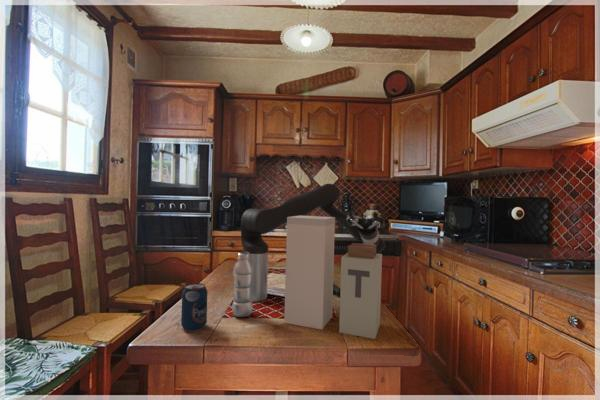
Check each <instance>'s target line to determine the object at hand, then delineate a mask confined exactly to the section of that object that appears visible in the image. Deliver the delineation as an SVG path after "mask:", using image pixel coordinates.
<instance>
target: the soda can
mask: <svg viewBox="0 0 600 400" xmlns="http://www.w3.org/2000/svg"><path fill="white" fill-rule="evenodd" d="M183 287H184V288H183V290H182V292H181V322H180V324H181V325H180V326H181V327H182V328H183V330H184V331H185V332H189V333H190V332H192V333H193V332H199V331H201V330H202V329H204V328H205V327H206V325H207V322H208V320H207V319H208V289H207V287H206V284H204V283H200V282H193V283H188V284H185V285H184V286H183Z"/></svg>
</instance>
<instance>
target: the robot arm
mask: <svg viewBox="0 0 600 400" xmlns="http://www.w3.org/2000/svg"><path fill="white" fill-rule="evenodd" d="M340 190H341V189H340V188H339V187H338V185H336V184H334V183H325V184H323V185H321V186H319V187H318V188H316V189H313V190H310V191H306V192H304V193H300V194H297V195H293V196H291V197H289V198H286V199H285V200H284V201H283V202H282V203H281V204H280V205H278V206H275V207H272V208H266V209H263V208H247V209H246V210H245V211H244V212H243V214H242V215H241V220H240V243H241V246H242V249H243V250H242V252H249V253H250V254H249V257H250V259H249V261H250V263H251V264H252V266H253V277H252V285H251V298H252V302H262V301H265V300H267V297H268V277H269V276H268V270H269V245H268V243H267V242H266V241H265V240H264V239H263V237H262V235H265V234H268V233H270V232H272V231H273V230H275V229H277V228H279V227H280V226H282V225H284V224H287V217H292V216H308V215H309V214H311V212H314V210H316V209H317V208H320V209H322V211H324V212H325V213H326V214H327V215H329V217H335V222H338V223H339V224H340V225H341V226H342V227H343V228H344V229H346V231H347V232H348V233H349V234H350V235H351V236H352V237H353V239H355V241H357V242H361V241H362V244H364V243H365V242H368V243H374V245H376V254H381V252H382V251H384V249H385V248H386V243H385V240H384V239H382V238H381V237H380V236H379V235H380V234H379V233H380V232H379V229H378V228H380V230H384V229H385V223H386V222H385V217H384V216H379V214H378V212H377V211H376V210H375V211H373V214H372V215H373V216H372V217H371V218H364V217H361V216H359V215H355V212H354V210H350V211H349V213H345V212H343V211H342V210H339V209H338V208H337V207H336V206H335V205H334V204H335V203H336V202H337V201H338V200H339V199H340V196H341V191H340Z"/></svg>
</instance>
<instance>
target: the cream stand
mask: <svg viewBox="0 0 600 400" xmlns="http://www.w3.org/2000/svg"><path fill="white" fill-rule="evenodd" d="M335 231H336V220H335V217H331V216H319V215H318V216H317V215H316V216H315V215H305V216H292V217H287V223H286V246H285V247H286V248H285V249H286V250H285V251H286V252H285V278H284V279H285V282H284V283H285V285H284V286H285V287H284V314H283V315H284V316H283V317H284V321H283V322H284V323H285V324H289V325H294V326H299V327H300V326H301V327H304V328H305V327H306V328H311V329H317V330H323V329H324V328H325V327H326V325H327V324H328V323H329V321H330V320H331V319H332V318H333V305H334V303H333V300H334V294H333V283H334V269H335V268H334V266H335V233H336V232H335Z"/></svg>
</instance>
